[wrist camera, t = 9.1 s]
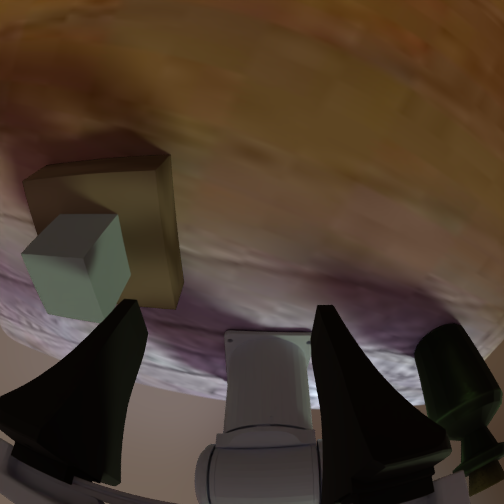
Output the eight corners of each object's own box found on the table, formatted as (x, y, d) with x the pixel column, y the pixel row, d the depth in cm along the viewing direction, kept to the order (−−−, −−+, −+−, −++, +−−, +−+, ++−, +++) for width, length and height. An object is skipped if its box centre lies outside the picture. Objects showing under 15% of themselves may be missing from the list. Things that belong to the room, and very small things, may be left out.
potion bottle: (394, 365, 29) (428, 513, 14) (429, 315, 25) (492, 486, 10) (445, 362, 30) (485, 488, 15) (480, 316, 25) (542, 454, 10)
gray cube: (131, 274, 19) (106, 324, 15) (76, 270, 19) (47, 313, 15) (117, 213, 16) (83, 258, 13) (59, 214, 16) (20, 253, 13)
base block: (184, 282, 23) (175, 309, 20) (76, 274, 23) (61, 297, 21) (170, 154, 17) (155, 170, 15) (46, 165, 17) (22, 181, 15)
